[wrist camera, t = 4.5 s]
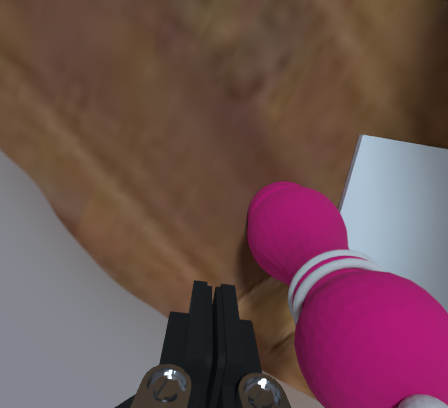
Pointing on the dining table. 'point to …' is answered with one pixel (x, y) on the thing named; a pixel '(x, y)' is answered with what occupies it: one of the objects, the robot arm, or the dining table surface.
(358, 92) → the dining table surface
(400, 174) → the mat
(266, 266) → the pepper mill
